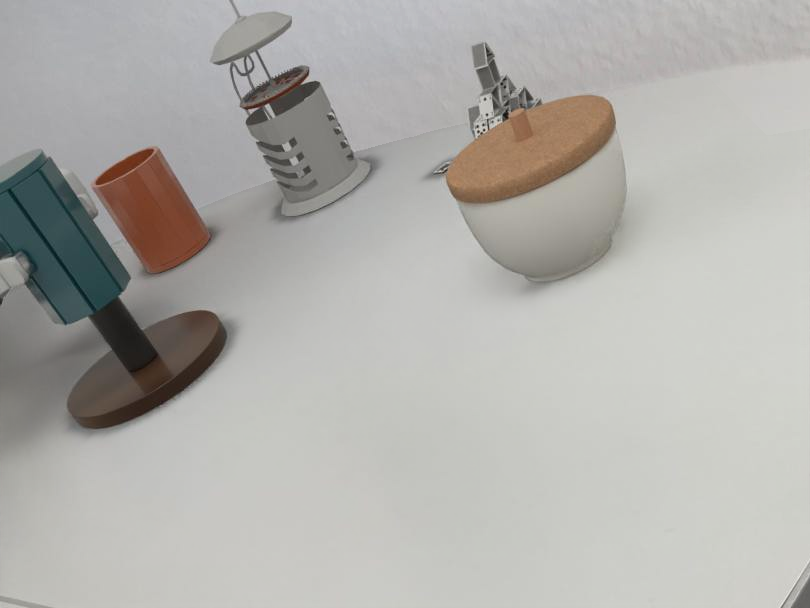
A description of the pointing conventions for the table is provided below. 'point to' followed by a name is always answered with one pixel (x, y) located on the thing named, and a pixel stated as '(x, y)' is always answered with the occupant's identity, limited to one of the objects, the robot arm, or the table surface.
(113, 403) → the towel holder
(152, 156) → the terracotta cup
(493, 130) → the trinket box
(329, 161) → the french press
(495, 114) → the house of cards
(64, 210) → the teal tall block
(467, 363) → the table surface
